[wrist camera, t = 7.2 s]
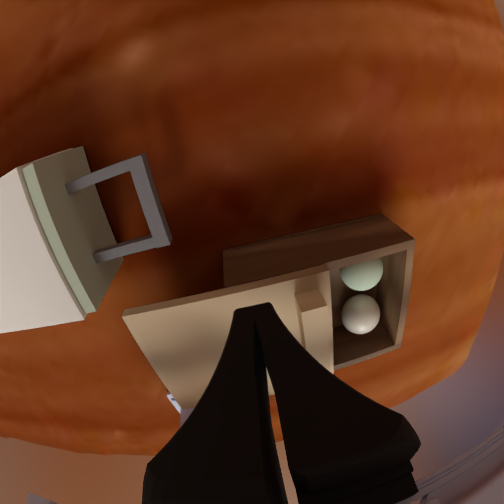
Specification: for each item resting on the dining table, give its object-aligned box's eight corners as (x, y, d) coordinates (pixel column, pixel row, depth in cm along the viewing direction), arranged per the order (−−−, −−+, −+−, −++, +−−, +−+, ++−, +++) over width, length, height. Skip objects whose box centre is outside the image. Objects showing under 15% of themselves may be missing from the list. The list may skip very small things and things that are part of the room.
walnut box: (378, 314, 25) (400, 347, 21) (252, 348, 25) (258, 389, 21) (381, 213, 20) (414, 239, 16) (222, 250, 20) (223, 287, 16)
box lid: (331, 372, 20) (339, 394, 18) (182, 402, 20) (181, 425, 18) (325, 264, 16) (339, 286, 14) (124, 309, 16) (114, 335, 14)
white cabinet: (115, 263, 20) (84, 319, 14) (28, 287, 20) (-7, 334, 14) (72, 147, 15) (16, 167, 10) (-12, 195, 15) (-62, 226, 10)
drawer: (186, 243, 19) (176, 295, 14) (34, 284, 19) (0, 328, 14) (150, 119, 15) (117, 122, 10) (-6, 193, 15) (-53, 222, 10)
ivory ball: (369, 311, 24) (384, 335, 21) (336, 321, 24) (349, 347, 21) (370, 282, 22) (388, 305, 19) (335, 292, 22) (349, 317, 19)
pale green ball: (371, 270, 22) (389, 292, 19) (334, 280, 22) (349, 304, 19) (370, 233, 20) (392, 253, 17) (331, 243, 20) (348, 265, 17)
